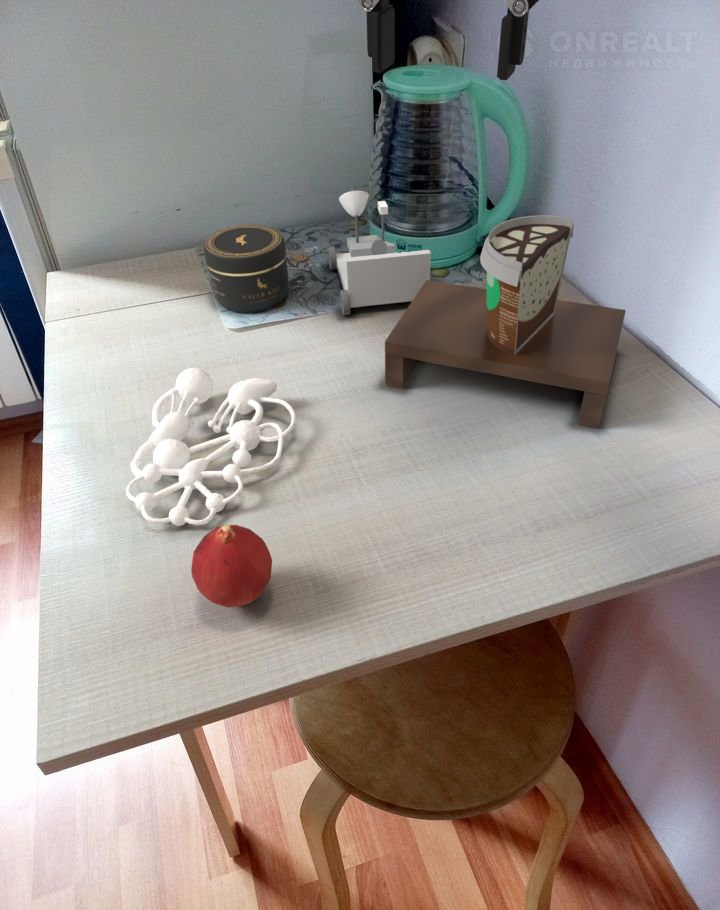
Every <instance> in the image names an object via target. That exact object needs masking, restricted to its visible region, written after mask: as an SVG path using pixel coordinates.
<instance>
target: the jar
mask: <svg viewBox="0 0 720 910" xmlns="http://www.w3.org/2000/svg"><path fill="white" fill-rule="evenodd" d="M203 253H204V263H205V266H206V268H207V273H208V278H209V284H210V288H211V291H212V294H213V296H214V298H215V300H216V302H217V303H218V304H219V305H220V306H222V307H223V308H224V309H226V310H227V311H230V312H233V313H242V314H247V313H248V314H251V313H259V312H264V311H267V310H270V309H272V308H274V307H276V306H277V305H279V304H280V303H282V302H283V300H284V299H285V297H286V296H287V293H288V287H289V271H288V262H287V249H286V242H285V238H284V236H283V234H282V233H281V232H280V231H279V230H278V229H275V228H273V227H271V226H267V225H262V224H261V225H260V224H242V225H241V224H240V225H234V226H230V227H225V228H223V229H220V230H218V231H216V232H214V233H213V234H211V235H209V236H208V237H207V238H206V239H205V241H204V244H203Z"/></svg>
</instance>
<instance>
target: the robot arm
mask: <svg viewBox="0 0 720 910" xmlns="http://www.w3.org/2000/svg"><path fill="white" fill-rule="evenodd" d="M358 1H359V6H360V8H361V9H362V10H363V11H364V12H366V47H367V48H366V49H367V50H366V51H367V56H368V57H369V58H371V60H372V61H371V62H372V64H371V65H372V72H373V73H379V74H380V73H382V72H383V71H385V70H386V69H388V68H389V67H391V66H392V65H394V64H395V59H396V58H395V53H396V52H395V50H396V49H395V46H396V45H395V37H396V35H395V34H396V33H395V31H396V30H395V29H396V28H395V27H396V25H395V23H396V22H395V21H396V20H395V19H396V17H395V15H396V14H395V13H396V12H395V8H394V5H393V4H390V0H358ZM503 1H504V3H505V4H506V6H507V11H506V13H507V14H505V15H504V16H503V17H502V19H501V22H500V23H501V24H500V35H499V36H500V37H499V48H498V57H497V58H498V59H497V71H496V78H497V79H499V80H500V81H508V80H509V78H511V76H512V75H513V74H514V73H515V71H516V68H517V67H516V66H522V65H523V62H524V59H525V54H526V53H525V52H526V44H527V43H526V42H527V34H528V23H529V15H530V10H531V9H532V8H533V7H534V6H535V5H536V4H537V3H538V2H539V1H540V0H503Z"/></svg>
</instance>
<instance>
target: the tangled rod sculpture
mask: <svg viewBox="0 0 720 910" xmlns="http://www.w3.org/2000/svg"><path fill="white" fill-rule="evenodd" d="M277 389H278V384H277V382H276V381H274V380H272V379H268V378H266V377H265V378H264V377H252V378H247V379H245V380H240V381H237V382H235V383H234V384H233V385H232V386H231V387H230V388H229V391H228V393H227V397H226V398H225V400H224V401H222V403H221V405H220V406H219V407H218V409H217V411H216V413H215V414H214V416H213V419H210V420H208V422H207V425H208V427H209V428H212V431H213V432H214V433H216V434H218V433H220V432H221V431H222V426H223V424H224V422H225V420H226V418H227V416H228V414H229V413H230V411H231V410H233V412H232V414H231V416H230V420H229V425H228V426H227V427H226V433H227V434H225V435H223V436H219V437H216V438H213V439H209V440H207V441H205V442H202V443H199V444H196V445H193V446H190V447H188V446H187V444H185V443H184V442H183V441H182V440H184V439H185V438H186V437H187V435H188V434H189V431H190V421H189V419H188V417H189V415H190V413H191V411H192V409H193V408H194V407H195V406H196V405H198V406H199V405H201V404H204V403H206V402H207V401H208V400H209V399H210V398H211V396H212V395H213V392H214V381H213V379H212V376H211V375H210V374H209V373H208V372H207V371H206V370H204V369H203V368H199V367H188V368H186V369H184V370H182V371H181V372H180V374H179V375H178V376H177V377H176V381H175V387H173V388H171V389H169V390H168V391H167V392H165V393H163V394H162V395H161V396H160V397H159V398H158V399H156V402H155V404H153V407H152V412H151V422H152V423H151V424H152V426H153V427H154V428H155V430H153V432H152V433H151V434H150V435H149V437H148V440H147V441H146V442H144V443H143V444H141V446H140V447H139V448H138V449H137V451H136V452H135V455H134V457H133V459H132V460H131V461H130V470H131V472H132V474H133V475H134V478H133V479H132V480H131V481H130V482H129V483H128V484H127V485H126V489H125V495H126V496H127V498H128V499H129V500H130V501H132V502H133V503H134V504H135V507H136V509H138V510H139V511H140V512H141V515H142V517H143V519H145V520H147V522H149V523H153V524H166V523H171V524H172V525H173V526H177V527H181V526H184V525H185V524H189V525H194V526H201V525H207V524H208V523H210V521H212V519H213V518H214V517H215V515H216V513H220V512H221V511H223V510H224V508H225V507H226V504H228V503H230V502H232V501H233V500H235V499H237V498H238V497H239V496H240V495H241V493H242V492H243V490H244V483H243V480H242V476H243V475H251V474H256V473H259V472H263V471H266V470H268V469H271V468H272V467H274V466H275V465H277V463H278V462H279V461H280V459H281V457H282V454H283V448H284V439H285V438H286V437H287V436H289V434H290V433H292V431H293V430H294V428H295V426H296V424H297V415H296V411H295V410H294V408H293V407H292V405H291V404H289V403H288V402H287V401H285V400H283V399H280V398H273V397H271V396H273V394H274V393H275V392H276V391H277ZM177 395H178V398H179V399H180V400H181V401H180V404H179V407H178V410H177V411H175V406H176V396H177ZM170 399H171V407H170V411H169V413H168V414H166V415H165V416H164V417H163V418H162V419H161V420H160V418H161V416H160V415H161V410H162V407H163V406H164V405H165V404H166V403H167V402H168V401H170ZM262 402H263V403H269V404H270V403H271V404H278V405H281V406H283V407H285V408H286V410H288V412H289V414H290V416H291V421H290V424H289V426H288V427H287V428H286V429H285V430H284V431H283V428H282V427H281V426H280V425H279V424H277V423H276V422H265V423H261V424H260V422H261V420H262V418H263V415H264V407H263V405H262V404H261V403H262ZM185 403H186V404H188V405H189V406H188V408H187V410H186V412H185V414H184V413H183V412H182V411H183V408H184V405H185ZM228 404H229V405H228ZM227 405H228V406H227ZM226 406H227V408H225V407H226ZM224 409H225V411H224V412H223V414H222V411H223V410H224ZM253 411H255V414H254V415H253V417H252V419H250V420H248V419H241V420H239V421H236V422H235V419H236V417H237V414H240V415H243V416H244V415H248V414H250V413H251V412H253ZM221 414H222V416H221V417H220V415H221ZM219 418H220V419H219ZM218 419H219V421H218ZM217 421H218V424H217ZM268 428H269V429H270V428H273V429H275V430H276V431H277V435H275V436H265V435H264V436H263V435H262V433H261V430H264V429H268ZM225 442H226V443H225ZM260 442H264V443H275V442H277V449H276V453H275V456H274V458H273V459H271V460H270V461H269V462H267V463H265V464H263V465H260V466H256V467H252V468H251V467H250V468H246V467H247V466H249V465H250V464H251V461H252V455H251V453H250V451H252V450H254V449H256V448H257V446H258V445H259V443H260ZM222 443H224V444H223V445H222V446H220V447H219V448H217V449H216V450H215V451H213V452H211V453H210V454H209V455H207V456H206V457H201V458H197V459H194V460H191V454H193V453H197V452H200V451H202V450H206V449H208V448H210V447H215V446H217V445H220V444H222ZM233 447H234V448H235V449H236V450H235V451H234V452H233V454H232V457H231V458H232V459H231V460H232V463H229V464H227V465H226V466H225V467H223V469H222V470H207V468H208V465H209V464H210V463H211V462H213V461H214V460H215V459H217V458H218V457H220V456H221V455H223V454H224V453H225V452H228V451H229V450H230V449H231V448H233ZM152 448H154V450H153V453H152V462H151V463H148V464H147V465H145V466H144V467H143V469H141V468H140V465H141V463H142V461H143V458H144V455H145V454H146V453H147V452H148V451H149V450H150V449H152ZM241 468H242V469H241ZM162 476H176V477H177V476H178V482H175V483H173V484H171V485H169V486H167V487H165V488H163V489H161V490H159V491H156V492H154V493H151V492H148V491H142V492H140V493H139V494H137V496H134V495H133V494H132V489H133V487H134V486H135V485H136V484H138V482H140V481H141V480H145V481H146V482H148V483H156V482H158V481H160V480H161V479H162ZM207 478H209V479H212V478H223V480H225V482H227V483H230V484H234V483H237V489H236V490H235V492H233V493H232V494H231V495H229V496H228V497H224V495H222V494H221V493H219V492H212V491H211V490H209V488H207V487H206V486H205V485H204V484H203V483H202V482H203V479H207ZM182 488H184V490H183V492H182V494H181V496H180V499H179V501H178V503H177V505H176V506H174V507H172V508H171V509H170V511H169V513H168V517H163V518H162V517H161V518H157V517H153V516H151V515H150V514H148V512H150V511H152V510H153V508H155V506H156V501H157V500H159V499H161V498H164V497H165V496H167V495H168V496H169V495H170V494H172V493H174V492H176V491H178V490H180V489H182ZM196 489H197V490H198V491H199V492H200V493H201V494H202V495H203V496H204V497H206V499H205V507H206V509H207V510H208V511H209V515H208V516H206V517H205V518H203V519H193V518H190V512H189V510H188V509H187V508H186V505H187V503H188V501H189V499H190V497H191V495H192V493H193V491H194V490H196Z"/></svg>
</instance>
